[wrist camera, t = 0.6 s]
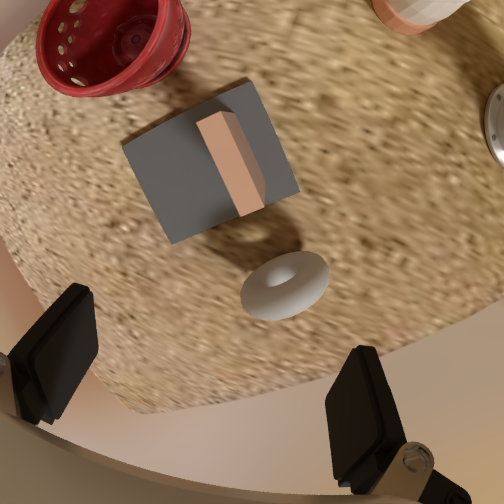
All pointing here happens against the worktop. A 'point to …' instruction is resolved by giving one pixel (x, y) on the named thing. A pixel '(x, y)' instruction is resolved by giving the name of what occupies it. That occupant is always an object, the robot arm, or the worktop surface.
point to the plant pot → (111, 45)
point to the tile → (234, 160)
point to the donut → (285, 285)
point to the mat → (205, 165)
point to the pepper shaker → (414, 13)
